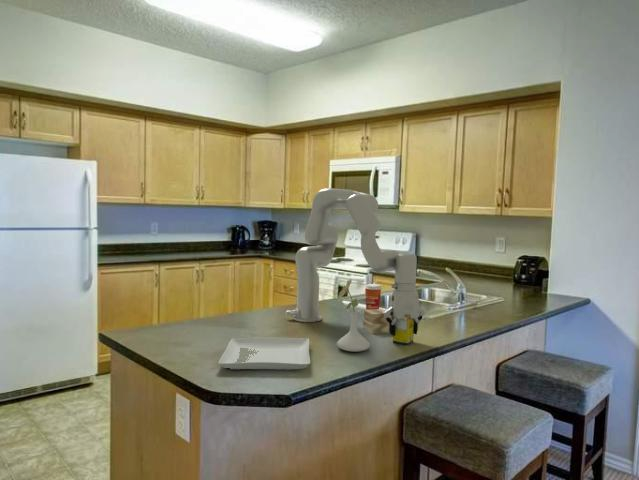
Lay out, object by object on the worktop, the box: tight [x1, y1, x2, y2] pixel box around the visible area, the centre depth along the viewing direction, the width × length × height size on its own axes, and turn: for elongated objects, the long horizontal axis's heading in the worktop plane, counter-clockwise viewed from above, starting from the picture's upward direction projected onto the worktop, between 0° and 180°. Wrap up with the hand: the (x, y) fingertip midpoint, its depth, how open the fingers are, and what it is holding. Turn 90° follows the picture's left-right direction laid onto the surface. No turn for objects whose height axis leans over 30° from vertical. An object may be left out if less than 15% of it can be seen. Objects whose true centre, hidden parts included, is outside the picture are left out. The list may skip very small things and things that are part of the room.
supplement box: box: [392, 315, 415, 346], centre depth 174 cm, size 6×6×11 cm
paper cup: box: [364, 283, 383, 310], centre depth 216 cm, size 8×8×14 cm
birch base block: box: [362, 318, 390, 335], centre depth 190 cm, size 9×9×4 cm
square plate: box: [217, 337, 311, 370], centre depth 152 cm, size 27×27×4 cm
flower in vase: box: [336, 278, 371, 353], centre depth 162 cm, size 13×11×25 cm
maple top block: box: [363, 308, 391, 324], centre depth 190 cm, size 8×8×4 cm
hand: (403, 333), depth 174 cm, fingers closed on supplement box, 8 cm apart
